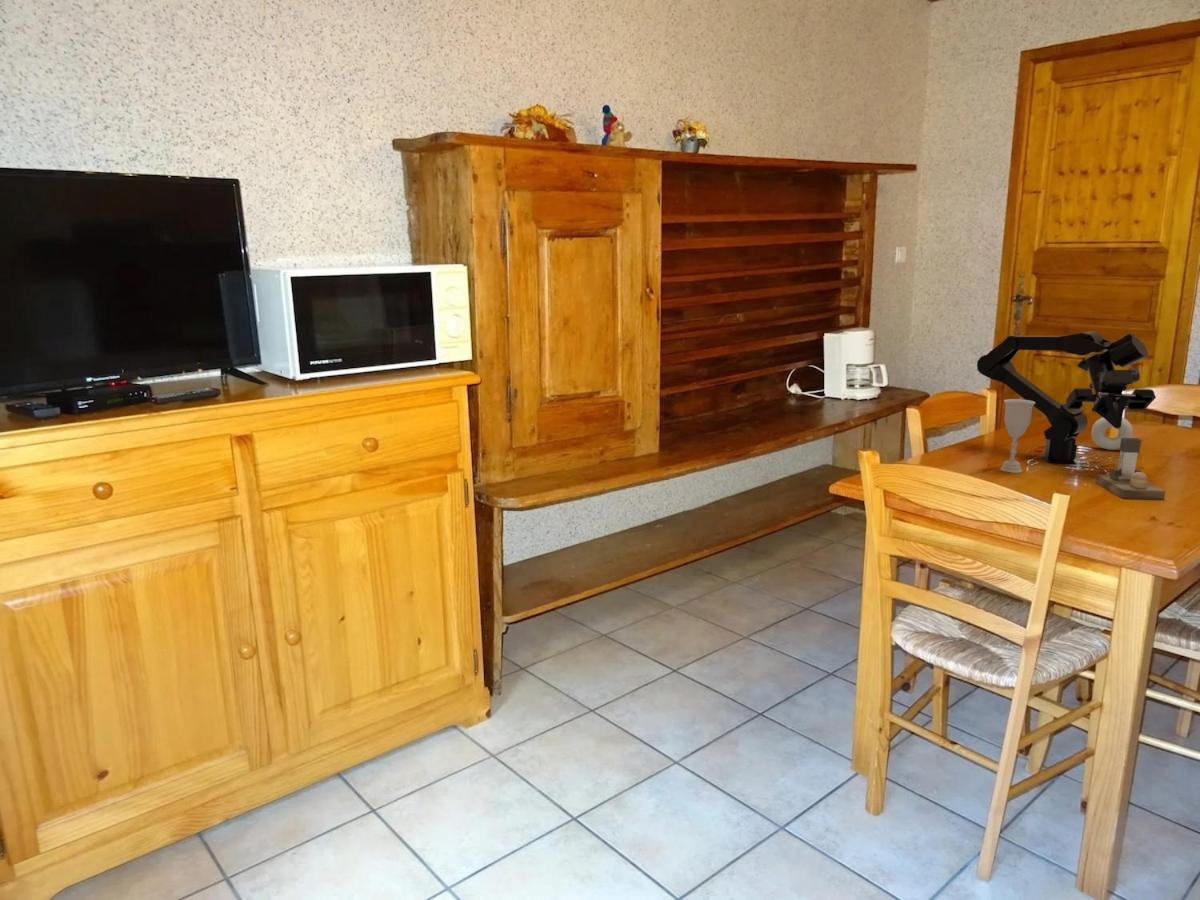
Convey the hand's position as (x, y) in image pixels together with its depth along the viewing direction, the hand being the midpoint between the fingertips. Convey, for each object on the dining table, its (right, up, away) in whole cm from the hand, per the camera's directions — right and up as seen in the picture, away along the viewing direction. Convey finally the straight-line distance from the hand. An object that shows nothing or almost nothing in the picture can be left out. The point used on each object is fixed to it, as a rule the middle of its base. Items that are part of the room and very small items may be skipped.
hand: (1118, 427), depth 203 cm
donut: (+17, -6, +32) cm, 37 cm away
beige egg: (-1, -14, -9) cm, 17 cm away
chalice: (-20, -11, +13) cm, 26 cm away
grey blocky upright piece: (-1, -12, -4) cm, 12 cm away
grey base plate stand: (-1, -15, -5) cm, 16 cm away
